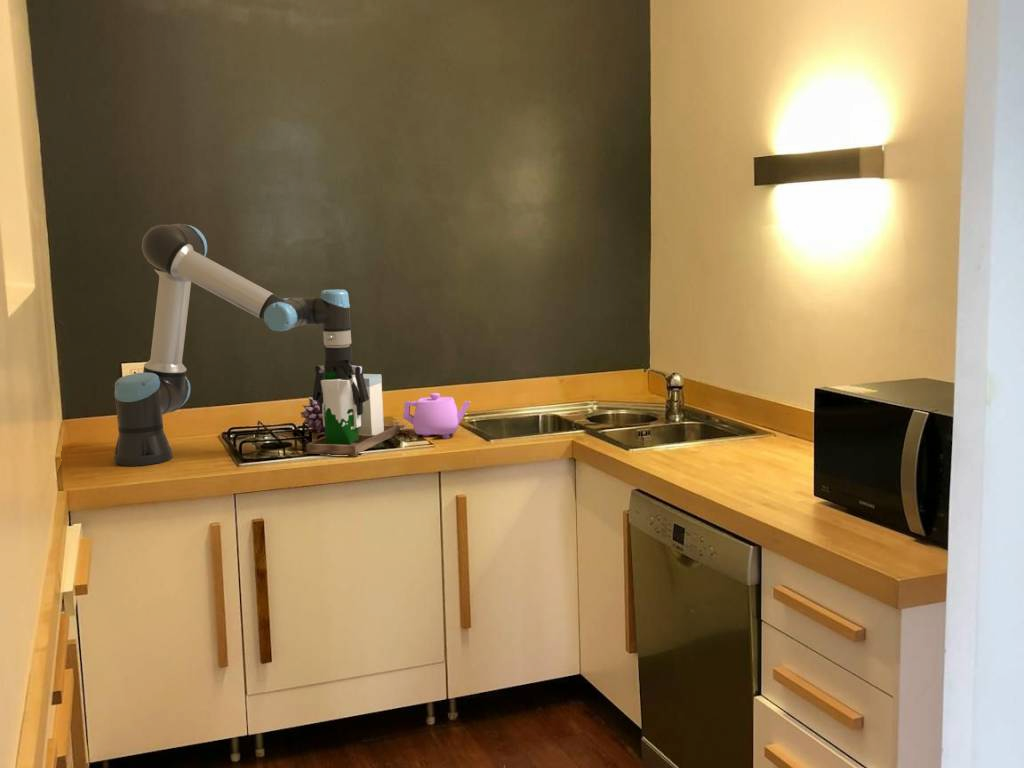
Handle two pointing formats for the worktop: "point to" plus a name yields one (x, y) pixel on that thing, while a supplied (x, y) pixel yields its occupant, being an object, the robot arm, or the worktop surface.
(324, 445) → the tray
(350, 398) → the soya milk
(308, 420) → the purple spiky ball
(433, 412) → the teapot
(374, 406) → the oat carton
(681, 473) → the worktop surface
